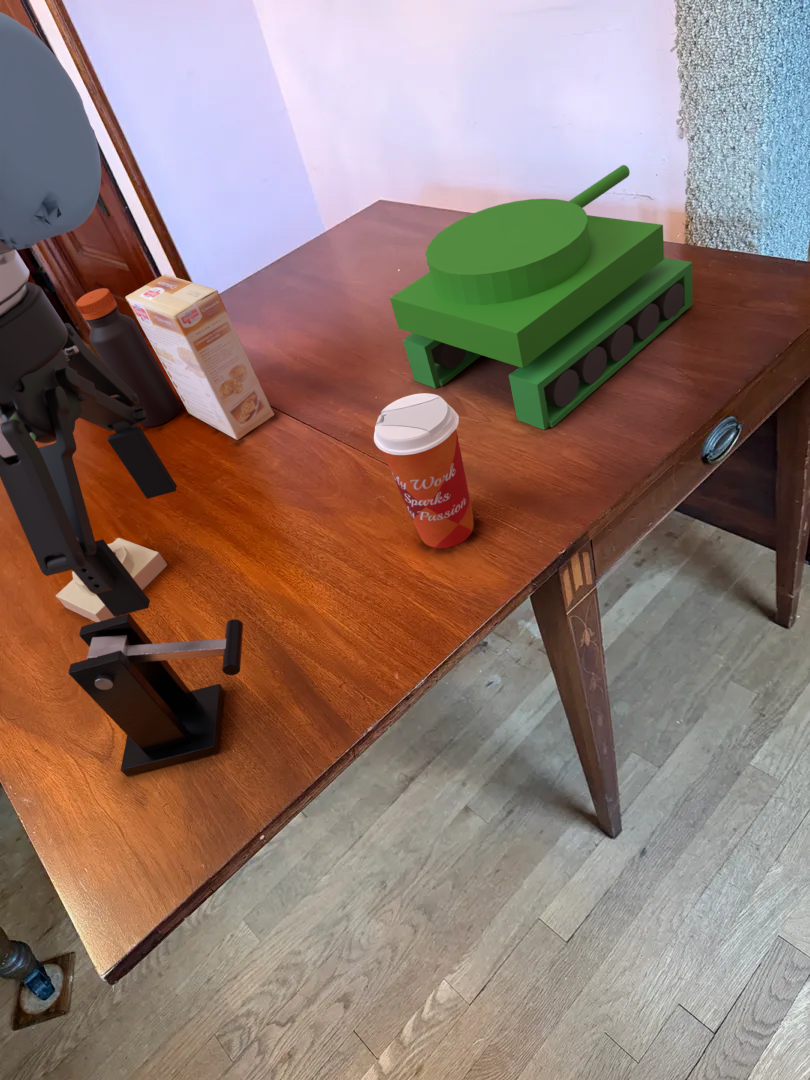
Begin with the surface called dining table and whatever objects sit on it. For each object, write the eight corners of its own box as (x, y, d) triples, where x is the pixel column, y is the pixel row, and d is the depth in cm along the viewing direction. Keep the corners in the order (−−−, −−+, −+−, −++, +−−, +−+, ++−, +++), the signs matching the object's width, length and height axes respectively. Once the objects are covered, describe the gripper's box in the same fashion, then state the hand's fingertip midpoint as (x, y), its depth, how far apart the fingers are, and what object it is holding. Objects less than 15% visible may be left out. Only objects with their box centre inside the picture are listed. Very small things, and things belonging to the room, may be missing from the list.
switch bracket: (224, 690, 72) (156, 597, 63) (219, 753, 67) (143, 662, 58) (138, 712, 73) (58, 624, 64) (126, 777, 68) (37, 690, 59)
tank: (719, 289, 100) (722, 162, 89) (547, 431, 87) (526, 305, 77) (575, 263, 116) (562, 153, 105) (412, 380, 104) (380, 269, 93)
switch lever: (244, 633, 66) (241, 614, 64) (241, 678, 62) (238, 660, 60) (102, 643, 64) (95, 624, 63) (90, 690, 61) (82, 671, 59)
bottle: (132, 427, 116) (59, 310, 102) (158, 401, 120) (91, 285, 106) (163, 429, 112) (92, 309, 99) (190, 402, 116) (124, 283, 103)
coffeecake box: (276, 414, 107) (218, 288, 94) (237, 442, 104) (172, 316, 91) (224, 389, 117) (165, 271, 104) (187, 413, 114) (122, 296, 101)
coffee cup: (402, 557, 79) (359, 445, 69) (418, 504, 84) (381, 393, 74) (479, 555, 76) (446, 439, 66) (491, 500, 81) (462, 385, 71)
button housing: (105, 627, 83) (86, 604, 81) (65, 607, 88) (46, 585, 85) (167, 565, 88) (151, 541, 86) (127, 549, 93) (110, 526, 90)
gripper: (-41, 399, 36) (167, 658, 50) (82, 215, 54) (209, 443, 69) (-175, 439, 37) (66, 682, 51) (-10, 245, 55) (134, 464, 70)
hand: (148, 546), depth 60 cm, fingers open, 13 cm apart
